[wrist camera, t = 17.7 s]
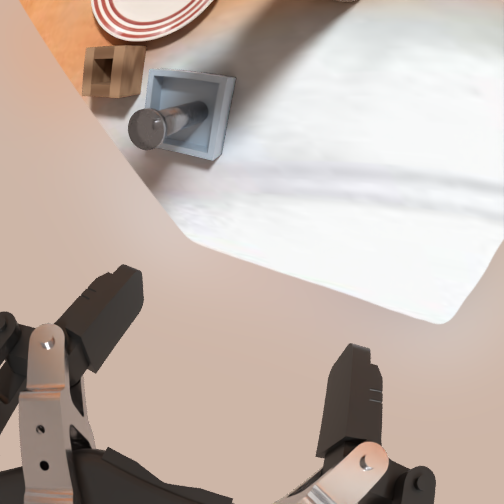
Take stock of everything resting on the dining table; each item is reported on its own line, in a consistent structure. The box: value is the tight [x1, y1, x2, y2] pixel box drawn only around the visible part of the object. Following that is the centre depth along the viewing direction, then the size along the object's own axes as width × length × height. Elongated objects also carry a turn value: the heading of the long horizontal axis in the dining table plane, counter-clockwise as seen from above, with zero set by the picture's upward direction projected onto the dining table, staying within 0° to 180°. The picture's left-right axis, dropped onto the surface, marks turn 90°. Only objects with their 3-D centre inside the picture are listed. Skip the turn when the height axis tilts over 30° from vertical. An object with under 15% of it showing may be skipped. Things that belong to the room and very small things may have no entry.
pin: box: [128, 101, 209, 150], centre depth 37 cm, size 5×5×15 cm
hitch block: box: [82, 45, 147, 98], centre depth 39 cm, size 9×9×6 cm
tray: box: [145, 68, 236, 161], centre depth 42 cm, size 13×13×4 cm
